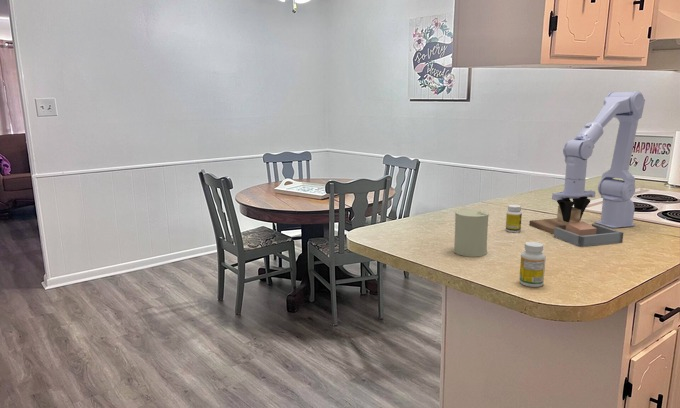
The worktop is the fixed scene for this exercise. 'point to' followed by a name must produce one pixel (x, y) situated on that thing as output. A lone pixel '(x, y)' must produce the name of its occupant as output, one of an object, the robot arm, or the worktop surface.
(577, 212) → the tall beige block
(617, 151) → the robot arm
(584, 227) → the pink square block
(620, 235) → the tray
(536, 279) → the supplement bottle
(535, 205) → the worktop surface
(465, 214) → the can
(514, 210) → the supplement bottle
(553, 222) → the board
